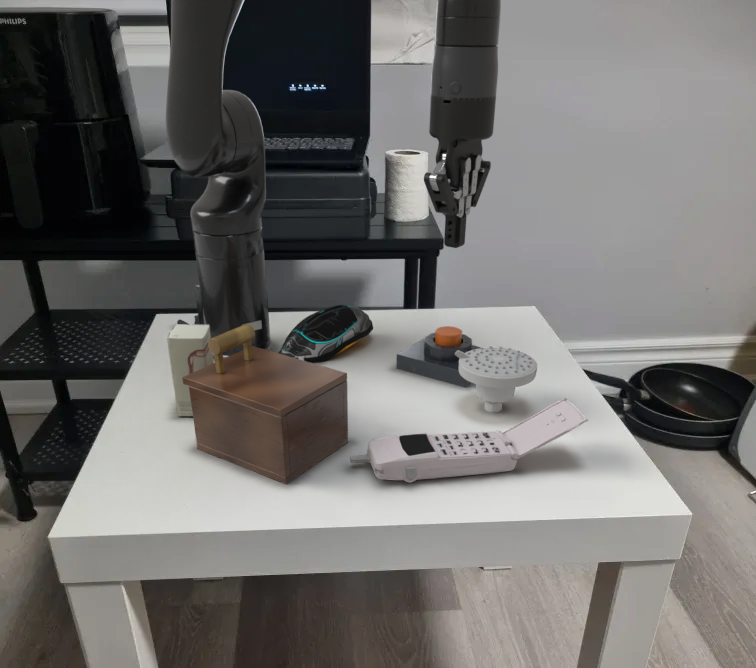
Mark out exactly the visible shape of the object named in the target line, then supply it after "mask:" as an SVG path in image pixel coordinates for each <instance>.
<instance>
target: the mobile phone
mask: <svg viewBox="0 0 756 668" xmlns="http://www.w3.org/2000/svg"><path fill="white" fill-rule="evenodd" d="M586 422H589V419H588V418H587V417H586V416H585V414H584V413H583V412H582V411H581V409H579V407H577V406H576V405H575V404H574V403H572V402H571V401H570V400H569V399H568V398H566V397H564V398H562V399H560V400H557V401H555V402H553V403H551V404H549V405H547V407H545V408H544V409H542V410H540V411H538V412H536V413H535V414H533V415H531V416H530V417H528V418H526V419H524V420H522V421H521V422H519V423H517V424H516V425H514V426H512V427H510V428H508V429H507V430H505V431H503V432H502V430H498V429H497V430H494V431H493V430H492V431H475V432H458V433H457V432H453V433H437V434H436V433H433V434H428V433H426V432H421V433H407V434H406V433H405V434H399V435H393V436H392V435H391V436H386V437H381V438H376V439H373V440H370V441H369V442H368V445H367V453H366V454H360V455H353V456H349V462H350V463H349V464H371V467H372V470H373V473H374V475H375V478H377V479H379V480H387V481H404V482H406V483H413V482H416V480H417V481H420V480H421V481H422V480H431V479H443V478H453V477H454V478H455V477H464V476H475V475H485V474H495V473H504V472H512V471H514V469H515V468H516V466H517V463H518V459H521V458H523V457H525V456H527V455H528V454H530V453H533V452H534V451H536V450H538V449H539V448H542V447H543V446H546V445H547V444H549V443H551V442H553V441H555V440H557V439H559V438H561V437H562V436H564V435H566V434H567V433H569V432H571V431H573V430H575V429H576V428H578V427H580V426H581V425H583V424H585V423H586Z"/></svg>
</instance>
